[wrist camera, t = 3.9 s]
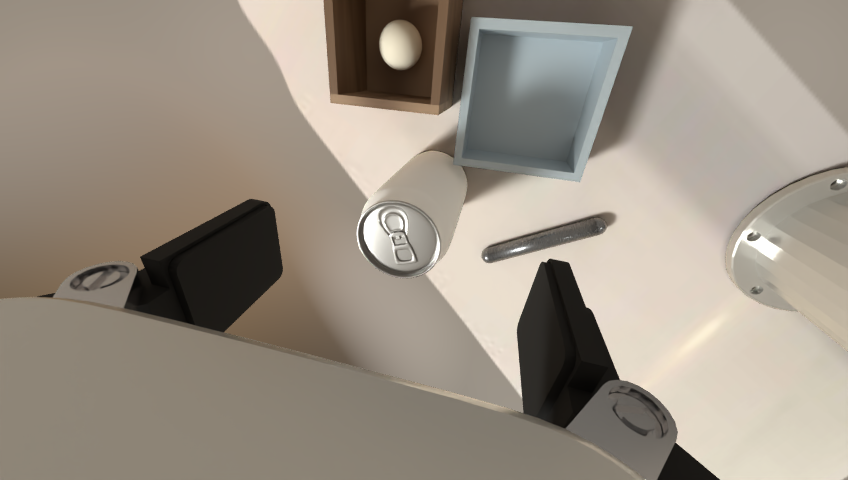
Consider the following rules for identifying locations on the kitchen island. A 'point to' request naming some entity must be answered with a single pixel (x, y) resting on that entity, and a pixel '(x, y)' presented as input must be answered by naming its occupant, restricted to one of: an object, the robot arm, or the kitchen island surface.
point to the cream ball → (400, 44)
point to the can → (413, 216)
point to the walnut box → (366, 69)
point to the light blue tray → (535, 94)
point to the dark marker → (545, 240)
